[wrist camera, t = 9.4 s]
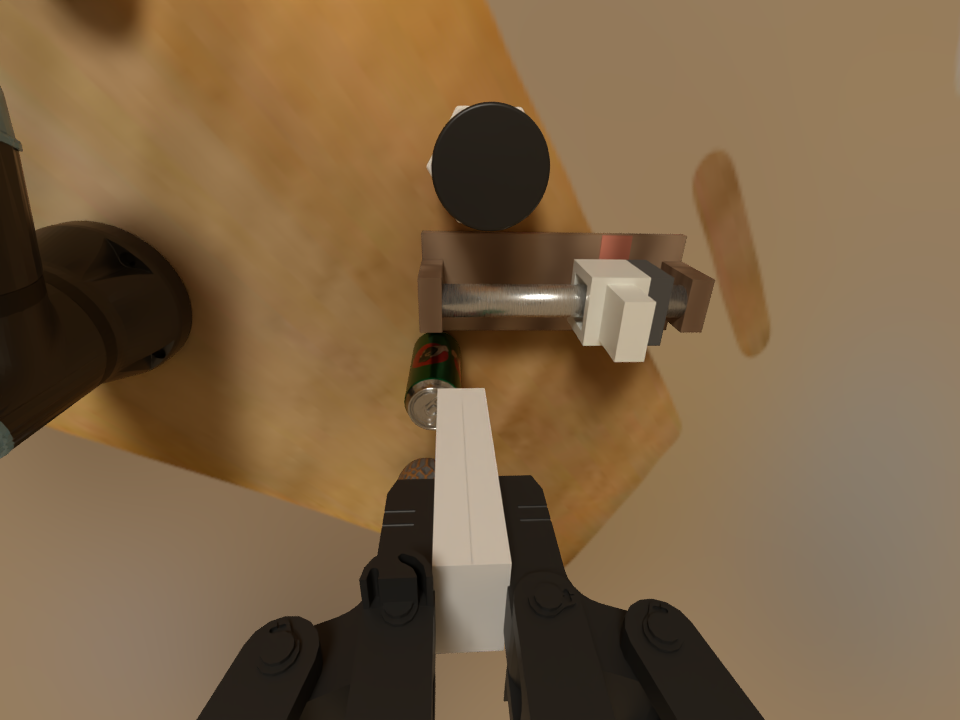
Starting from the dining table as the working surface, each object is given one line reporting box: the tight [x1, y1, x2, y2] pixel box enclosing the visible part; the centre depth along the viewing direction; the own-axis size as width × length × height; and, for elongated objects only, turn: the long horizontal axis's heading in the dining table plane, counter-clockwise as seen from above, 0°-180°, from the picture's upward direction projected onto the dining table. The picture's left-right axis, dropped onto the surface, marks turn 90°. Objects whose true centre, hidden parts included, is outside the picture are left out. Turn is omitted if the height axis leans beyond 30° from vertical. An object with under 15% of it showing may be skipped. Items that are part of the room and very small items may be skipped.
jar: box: [427, 102, 550, 231], centre depth 36 cm, size 9×8×12 cm
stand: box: [418, 231, 715, 333], centre depth 43 cm, size 26×10×8 cm, turn 89°
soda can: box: [404, 332, 461, 430], centre depth 44 cm, size 5×5×12 cm
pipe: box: [442, 284, 687, 318], centre depth 41 cm, size 24×3×3 cm, turn 89°
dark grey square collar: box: [627, 260, 675, 346], centre depth 41 cm, size 2×6×6 cm, turn 179°
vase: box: [398, 458, 435, 479], centre depth 53 cm, size 7×7×9 cm
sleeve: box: [567, 259, 656, 362], centre depth 39 cm, size 5×6×11 cm
